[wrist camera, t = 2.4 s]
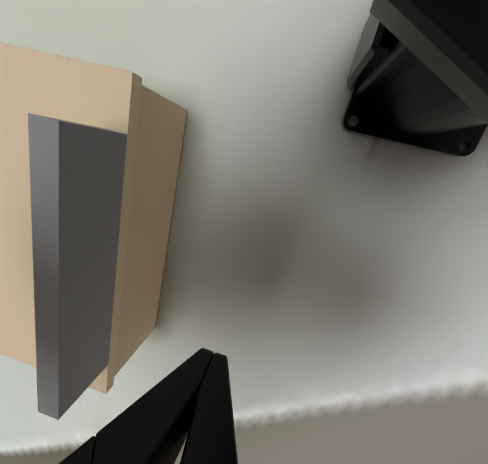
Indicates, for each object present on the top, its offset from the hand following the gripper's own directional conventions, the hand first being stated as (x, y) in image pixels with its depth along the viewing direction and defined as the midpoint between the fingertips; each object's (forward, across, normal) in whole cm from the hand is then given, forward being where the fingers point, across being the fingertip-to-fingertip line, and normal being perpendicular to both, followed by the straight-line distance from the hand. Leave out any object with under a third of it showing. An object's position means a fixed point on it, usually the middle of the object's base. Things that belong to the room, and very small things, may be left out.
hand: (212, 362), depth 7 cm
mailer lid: (+4, +13, 0) cm, 14 cm away
